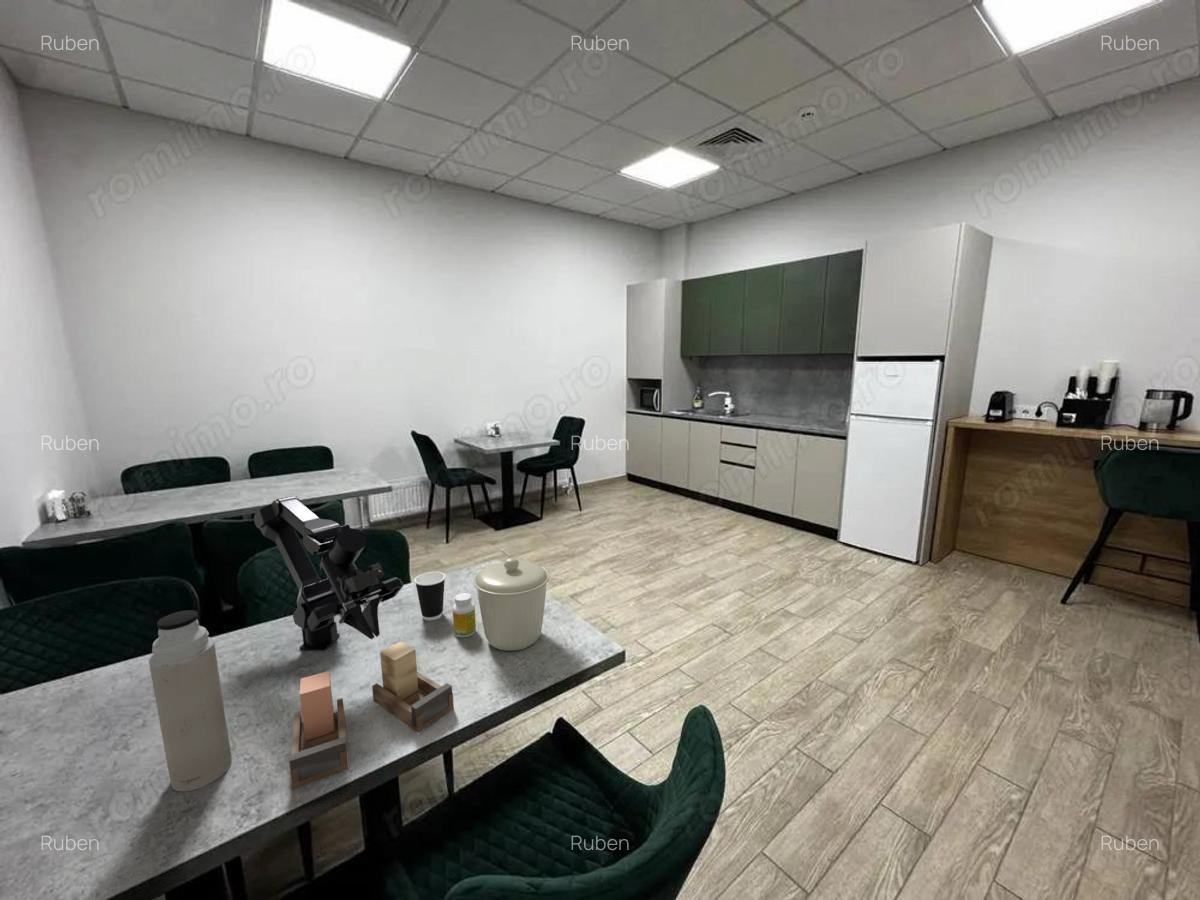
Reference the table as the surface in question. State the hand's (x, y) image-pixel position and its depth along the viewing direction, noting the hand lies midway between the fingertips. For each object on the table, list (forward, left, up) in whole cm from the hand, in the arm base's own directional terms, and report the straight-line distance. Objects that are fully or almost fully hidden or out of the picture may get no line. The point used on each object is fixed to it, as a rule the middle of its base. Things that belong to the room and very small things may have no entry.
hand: (375, 637), depth 102 cm
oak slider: (+7, -5, -9) cm, 12 cm away
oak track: (+10, -7, -11) cm, 16 cm away
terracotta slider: (-4, -15, -9) cm, 18 cm away
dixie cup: (+2, +28, -11) cm, 30 cm away
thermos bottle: (-19, -23, -11) cm, 32 cm away
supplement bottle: (+13, +20, -11) cm, 26 cm away
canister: (+26, +17, -11) cm, 33 cm away
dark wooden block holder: (-2, -18, -11) cm, 21 cm away
